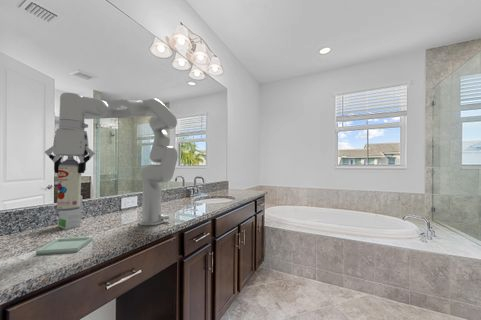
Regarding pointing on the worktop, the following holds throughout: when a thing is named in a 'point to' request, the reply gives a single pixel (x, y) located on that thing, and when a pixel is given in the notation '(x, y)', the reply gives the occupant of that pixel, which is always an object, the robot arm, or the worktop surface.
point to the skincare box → (70, 217)
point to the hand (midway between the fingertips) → (70, 172)
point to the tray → (64, 245)
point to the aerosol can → (68, 185)
